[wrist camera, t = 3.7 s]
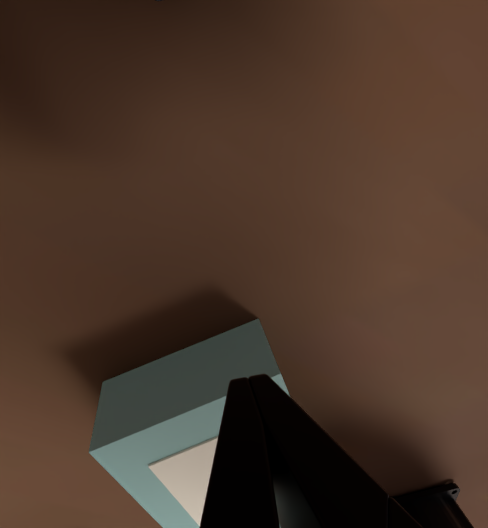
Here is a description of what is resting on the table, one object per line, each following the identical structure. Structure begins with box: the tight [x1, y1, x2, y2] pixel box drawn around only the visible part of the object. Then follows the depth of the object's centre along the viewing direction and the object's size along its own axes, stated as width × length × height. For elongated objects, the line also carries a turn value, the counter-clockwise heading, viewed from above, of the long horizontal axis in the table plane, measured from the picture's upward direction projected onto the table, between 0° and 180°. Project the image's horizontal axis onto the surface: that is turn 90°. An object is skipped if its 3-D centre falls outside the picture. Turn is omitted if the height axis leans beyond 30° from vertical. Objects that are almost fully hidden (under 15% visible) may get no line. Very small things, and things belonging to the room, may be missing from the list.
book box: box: [89, 318, 290, 528], centre depth 18 cm, size 8×12×4 cm, turn 19°
